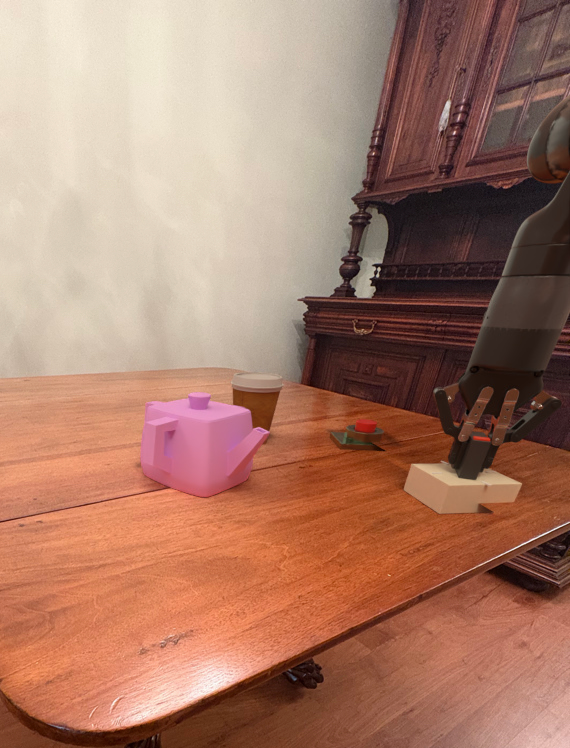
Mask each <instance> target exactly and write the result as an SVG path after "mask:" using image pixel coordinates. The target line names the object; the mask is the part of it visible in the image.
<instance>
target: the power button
mask: <svg viewBox="0 0 570 748" xmlns="http://www.w3.org/2000/svg"><path fill="white" fill-rule="evenodd" d="M354 425H355V429H354V430H357V431H362V432H375V429H376V427H377V425H378V422H377V421H376V420H373V419H364V418H361V419H357V420H356V421H355V424H354Z"/></svg>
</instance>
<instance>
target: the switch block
mask: <svg viewBox="0 0 570 748" xmlns="http://www.w3.org/2000/svg"><path fill="white" fill-rule="evenodd" d="M355 425H356V424H350V425H347V426H346V427H345V430H344V431H343V432H342V431H330V433H329V439H330V440H331V441H332V442H333V443H334V445H336V447H337V448H338V449H339V450H343V451H344V450H345V451H346V450H348V451H371V452H387V450H385V449H384V448H382V447H380V446H378V445H377V444H375V443H380V442H382V440H383V438H384V433H385V430H384V429H382V428H381V427H377V426H376V429H375V432H362V431H357V430H354V429H355Z"/></svg>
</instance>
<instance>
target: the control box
mask: <svg viewBox="0 0 570 748" xmlns="http://www.w3.org/2000/svg"><path fill="white" fill-rule="evenodd" d="M522 485H523V483H522V482H519V481H518V480H515V479H513V478H511V477H509V476H506V475H505V474H502V473H500V472H498V471H496V470H493V469H491V468H490V467H489V468H488V469H484V470H483V472H482V473H480V472H479V474H478V477H477V479H476V480H472V479H465V478H459V477H458V475H457V473H456V470H455V469H452V467H451V464H449V462H447V461H445V460H440V462H439V463H411V465H410V469H409V471H408V474H407V477H406V480H405V483H404V487H403V491H404V492H406V493H407V494H409V496H412V497H413V498H414V499H416V500H417V501H418V502H420V503H422V504H424V505H425V506H426V507H428V508H430V509H431V510H432V511H434V512H435V513H437V514H439V515H447V514H480V513H485V514H486V513H494V511H493V510H491V509H490V508H488V507H486V506H484V505H482V504H501V503H502V504H503V503H507V504H508V503H509V504H510V503H515V501H516V499H517V497H518V494H519V492H520V491H521V488H522Z"/></svg>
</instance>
